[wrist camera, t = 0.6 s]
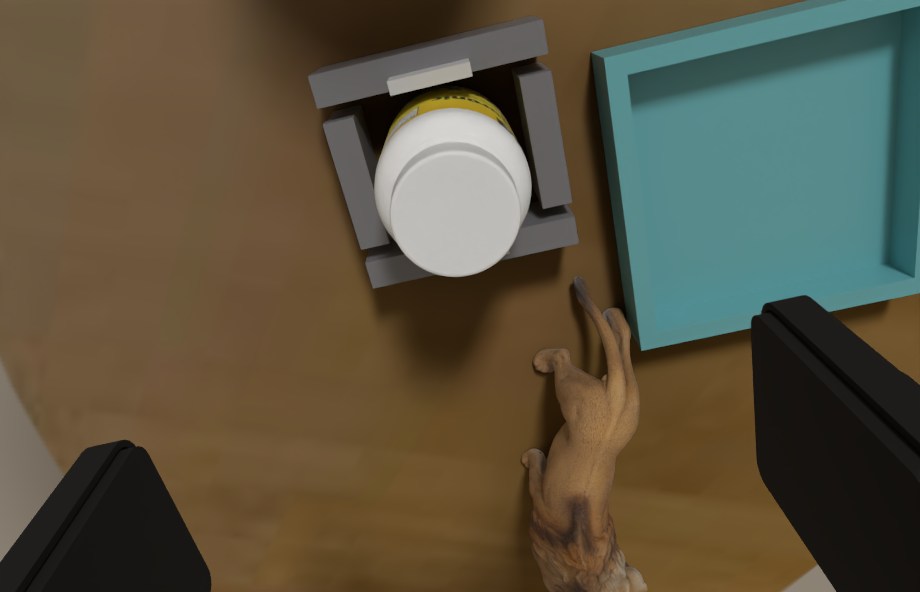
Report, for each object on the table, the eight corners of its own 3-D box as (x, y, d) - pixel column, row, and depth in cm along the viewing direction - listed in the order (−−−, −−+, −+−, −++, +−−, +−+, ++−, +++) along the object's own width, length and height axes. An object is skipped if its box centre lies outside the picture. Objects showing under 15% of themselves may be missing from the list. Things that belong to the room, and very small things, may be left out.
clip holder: (532, 15, 27) (547, 20, 23) (566, 220, 31) (584, 253, 27) (320, 67, 28) (301, 80, 24) (378, 262, 31) (370, 300, 27)
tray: (915, -26, 27) (957, -26, 25) (898, 269, 32) (931, 290, 30) (590, 52, 28) (603, 58, 25) (627, 326, 33) (641, 350, 31)
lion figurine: (612, 509, 38) (660, 653, 30) (518, 514, 38) (540, 660, 30) (627, 268, 32) (693, 366, 24) (514, 274, 32) (542, 375, 24)
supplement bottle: (538, 134, 29) (582, 201, 20) (461, 230, 31) (472, 331, 22) (436, 54, 27) (435, 88, 19) (362, 160, 29) (329, 238, 20)
